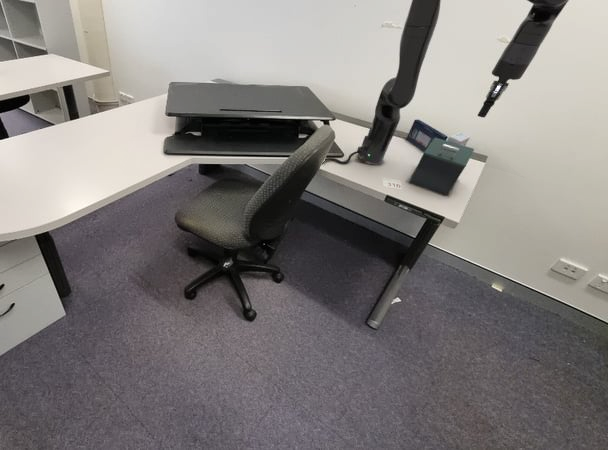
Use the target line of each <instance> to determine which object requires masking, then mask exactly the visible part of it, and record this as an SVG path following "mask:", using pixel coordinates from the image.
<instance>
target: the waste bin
mask: <svg viewBox="0 0 608 450" xmlns="http://www.w3.org/2000/svg"><path fill="white" fill-rule="evenodd" d="M465 168H466V167H462V166H459V165H455V164H452V163H449V162H446V161H443V160H440V159H436V158H433V157H430V156H427V155H424V154H422V156H421V157H420V160H419V161H418V164H417V166H416V167H415V169H414V171H413V173H412V175H411V177H410V179H409V181H408V183H409V184H412V185H415V186H417V187H420V188H423V189H425V190H427V191H431V192H434V193H436V194H440V195H442V196H445V197H447V196H448V195H449V193H450V192H451V190H452V189H453V187H454V185H455V184H456V183H457V181H458V179H459V177H460V176H461V175H462V173H463V171H464V170H465Z"/></svg>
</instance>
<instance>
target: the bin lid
mask: <svg viewBox="0 0 608 450" xmlns="http://www.w3.org/2000/svg"><path fill="white" fill-rule="evenodd" d="M474 151H475V148H473V147H469V146H466V145H465V146H463V145H459V144H456V143H452V142H449V141H447V140H446V141H445V140H442V139H438V138H434V140H433V141H432V142H431V144H430V145H429V146H428V148H427V149H426V150H425V152H423V154H424V155H427V156H430V157H433V158H436V159H440V160H443V161H446V162H449V163H452V164H455V165H459V166H462V167H465V168H466V167H467V164H468V163H469V161H470V159H471V157H472V155H473V153H474ZM423 154H422V155H423Z"/></svg>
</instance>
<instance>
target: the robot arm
mask: <svg viewBox="0 0 608 450" xmlns="http://www.w3.org/2000/svg"><path fill="white" fill-rule="evenodd" d="M526 1H527V2H530V3H531V4H532V6H531V7H530V10H529V11H528V13H527V14H526V17H525V18H524V20H523V21H521V23H520V24H519V25H518V28H517V29H516V31H515V33H514V35H513V36H512V37H511V40H510V41H509V43H508V44H507V45H506V47H505V48H504V50H503V52H502V54H501V55H500V57H499V59H498V60H497V62H496V64H495V65H494V67H493V69H492V71H491V75H492V76H494V77H497V78H498V80H494V81H493V82H492V84H491V85H490V87H489V91H488V92H487V94H486V96H485V98H486V99H485V100H484V101H483V102H482V103H483V105H482V107H481V108H480V110H479V111H478V113H477V117H478V118H486V117H487V115H488V114H489V112H490V110H491V109H492V107H494V105H495V104H496V103H495V102H496V101H498V100H499V99H500V98H501V97H502V95H503V93H504V92H506V90H507V89H508V87H509V85H510V83H509V82H508V81H509V80H512V81H516V80H520V79H521V78H522V77H523V76H524V74H525V72H526V71H527V69H528V67H529V66H530V64H531V63H532V62H533V60H534V58H535V56H536V55H537V53H538V51H539V48H540V47H541V45H542V43H544V40H545V39H546V38H547V36H548V34H549V32H550V30H551V29H552V27H553V25H554V23H555V21H556V20H557V18H558V17H559V16H560V14H561V12H562V11H563V10H564V8H565V7H566V5H567V4H568V3H569V1H570V0H526ZM441 2H442V0H411V3H410V5H409V10H408V13H407V16H406V19H405V22H404V25H403V28H402V33H401V36H400V41H399V52H398V57H399V58H398V59H399V61H398V69H397V73H396V76H395V77H393V78H390V79H388V80H387V81H386V82H385V84H384V85H383V87H382V88H381V90H380V93H379V96H378V98H377V102H376V105H375V109H374V116H373V119H372V122H371V125H370V128H369V130H368V133H367V135H365V136H364V137H363V140H362V143H361V146H358V147H357V150H356V151H353V152H352V153H350V154H349V156H348V158H347V159H346V160H340V159H338V158H335V157H334V158H333V157H325V158H324V159H325V161H324V162H323V163H325V162H326V161H334V162H337V163H339V164H342V165H343V164H347V163H349V162H350V161H351V159H352V157H353V156H355V155H357V156H358V158H359V159H360V161H361V162H362V163H366V164H369V165H374V166H375V165H381V164H382V163H383V161H384V158H385V156H386V153H387V151H388V148H389V146H390V144H391V141H392V139H393V137H394V134H395V132H396V130H397V127H398V125H399V123H400V120H401V109H404V108H405V107H407V106H408V105H409V104H410V103H411V102H412V100H413V99H414V97H415V93H416V90H417V87H418V81H419V76H420V73H421V69H422V66H423V63H424V60H425V58H426V56H427V52H428V49H429V46H430V44H431V41H432V38H433V35H434V32H435V30H436V27H437V24H438V21H439V17H440V12H441V11H440V10H441ZM299 228H300V226H296V230H295V232H294V235H295V236H297V235H298V232H299Z"/></svg>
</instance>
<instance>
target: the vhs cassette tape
mask: <svg viewBox="0 0 608 450" xmlns="http://www.w3.org/2000/svg"><path fill="white" fill-rule="evenodd" d="M434 138H438V139H442V140H445V141H447V140H448V138H449V136H448V135H446V134H444V133H443V132H441V131H439V130H438V129H436V128H434V127H432V126H431V125H429V124H427V123H425V122H424V121H422V120H420V119H414V120H413V122H412V125H411V127H410V129H409V131H408V133H407V136H406V138H405V140H406V141H407V142H409V143H410V144H412V145H413V146H414V147H416V148H417V149H419V150H420V151H422V152H423V153H424V152H425V150H426V149H427V148H428V146H429V145H430V144H431V142H432V141H433V140H434Z"/></svg>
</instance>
